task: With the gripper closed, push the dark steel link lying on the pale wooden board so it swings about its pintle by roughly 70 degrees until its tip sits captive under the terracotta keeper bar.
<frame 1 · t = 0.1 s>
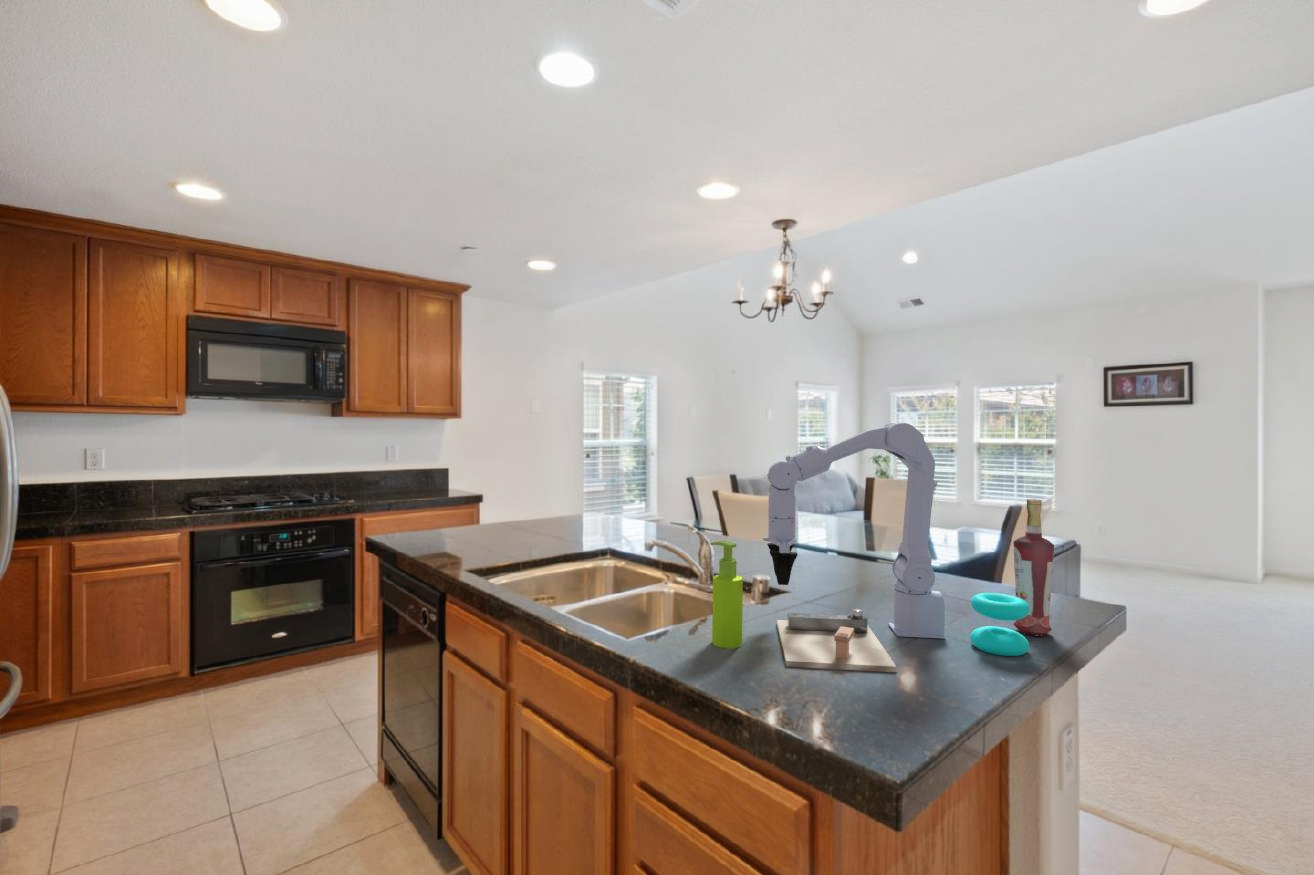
hand: (781, 580, 133), 10 cm above the worktop, fingers open, 7 cm apart
soap dispenser: (725, 643, 123), on the worktop
donuts: (999, 649, 120), on the worktop
link: (827, 618, 128), point 3 cm above the worktop, hinge at 0.0°
liquor: (1032, 633, 130), on the worktop
keeper: (857, 635, 128), resting on hinge board
hinge board: (830, 645, 121), on the worktop
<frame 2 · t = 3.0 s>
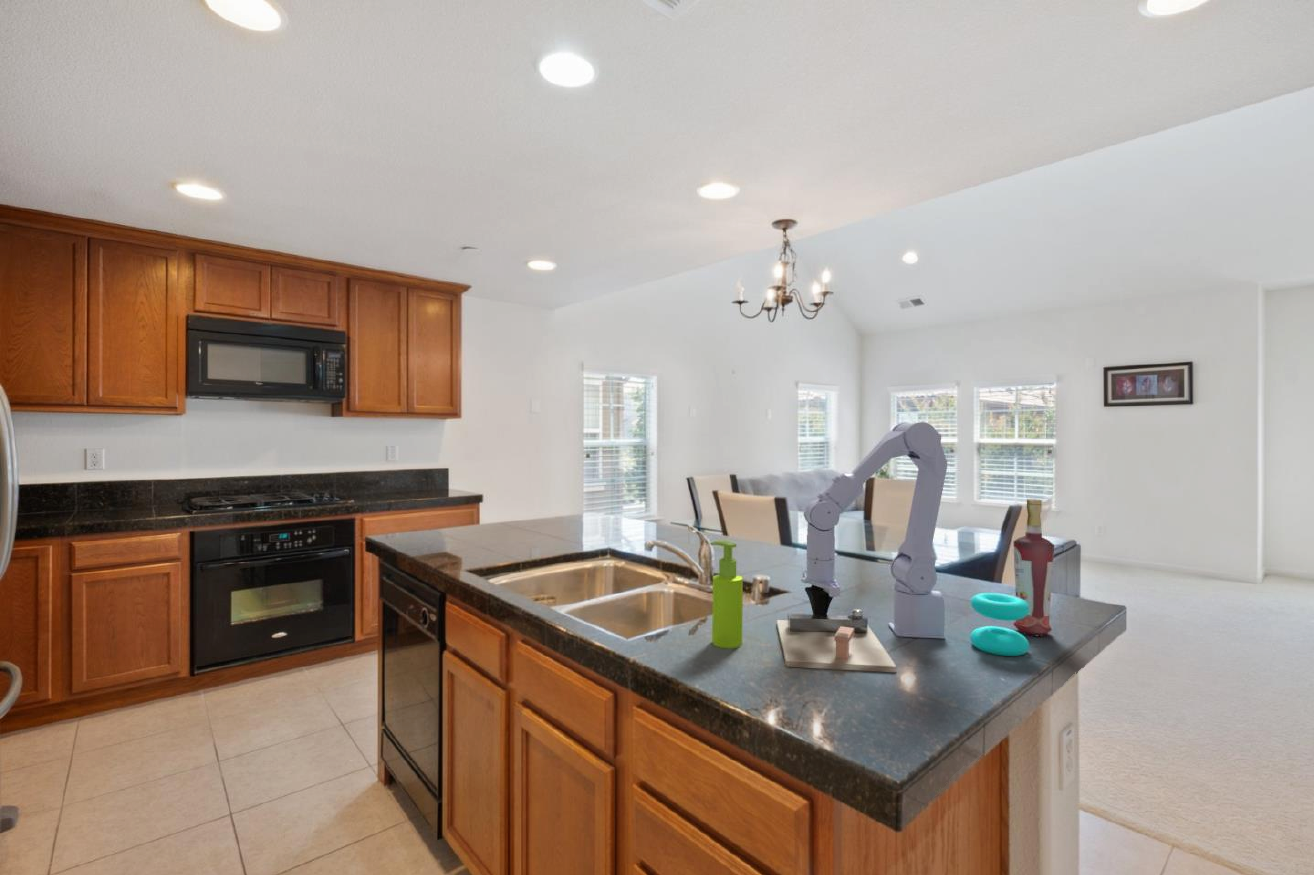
hand: (819, 621, 130), 2 cm above the worktop, fingers closed
link: (827, 619, 128), point 3 cm above the worktop, hinge at 3.8°, touching gripper
everything else where it was.
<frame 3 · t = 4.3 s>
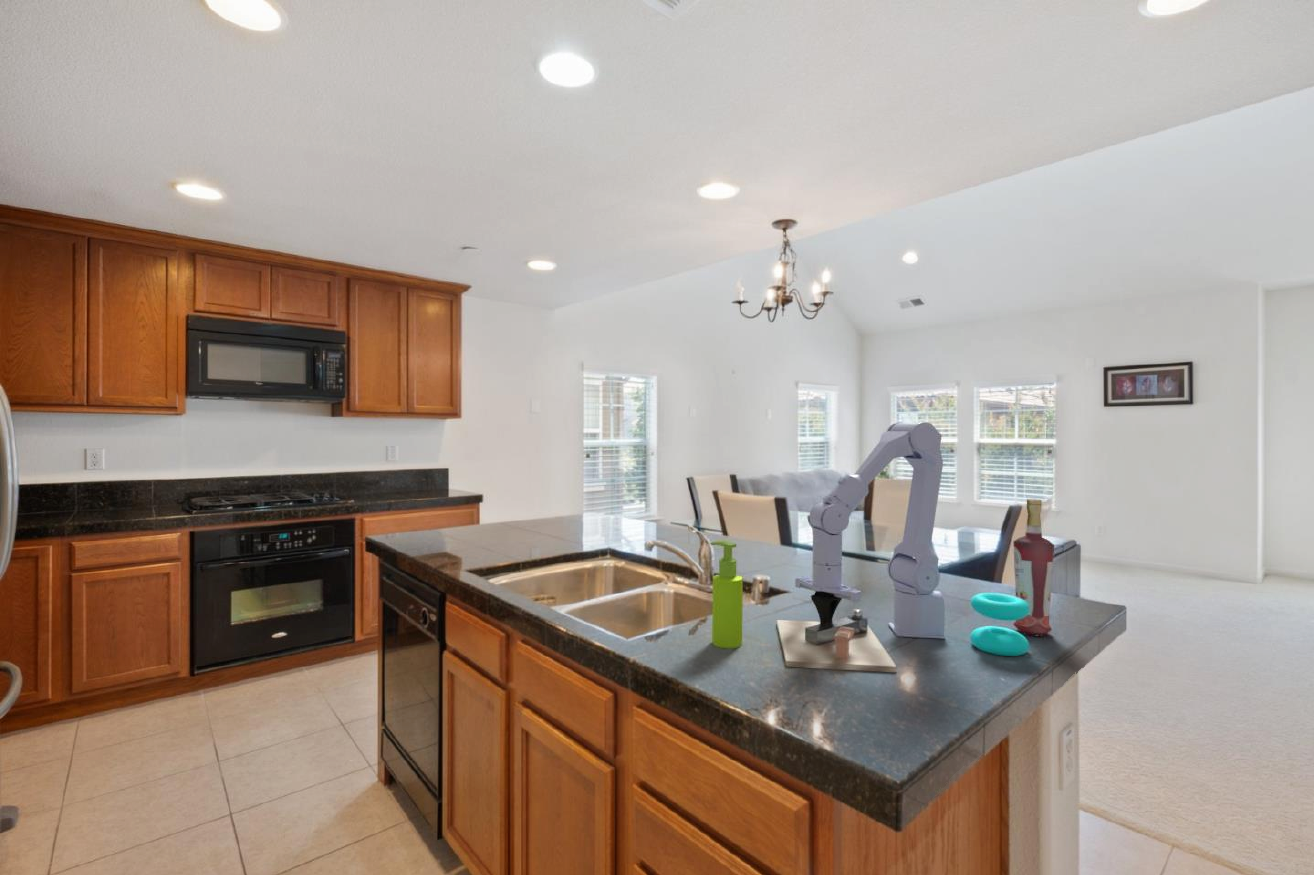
hand: (826, 629, 125), 2 cm above the worktop, fingers closed
link: (838, 625, 124), point 3 cm above the worktop, hinge at 41.6°, touching gripper
everything else where it was.
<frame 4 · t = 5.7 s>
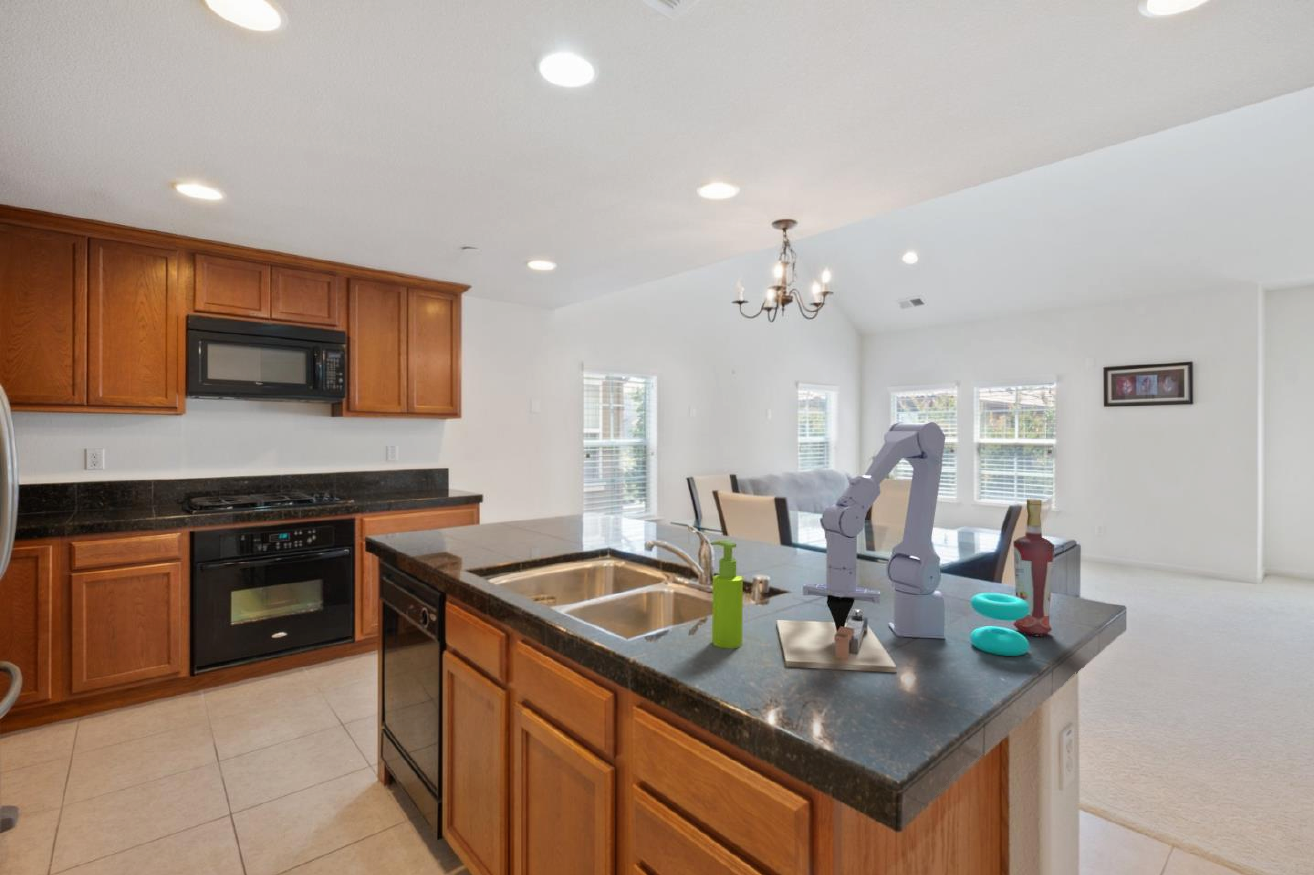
hand: (840, 634, 122), 2 cm above the worktop, fingers closed
link: (854, 628, 122), point 3 cm above the worktop, hinge at 73.3°, touching gripper
everything else where it was.
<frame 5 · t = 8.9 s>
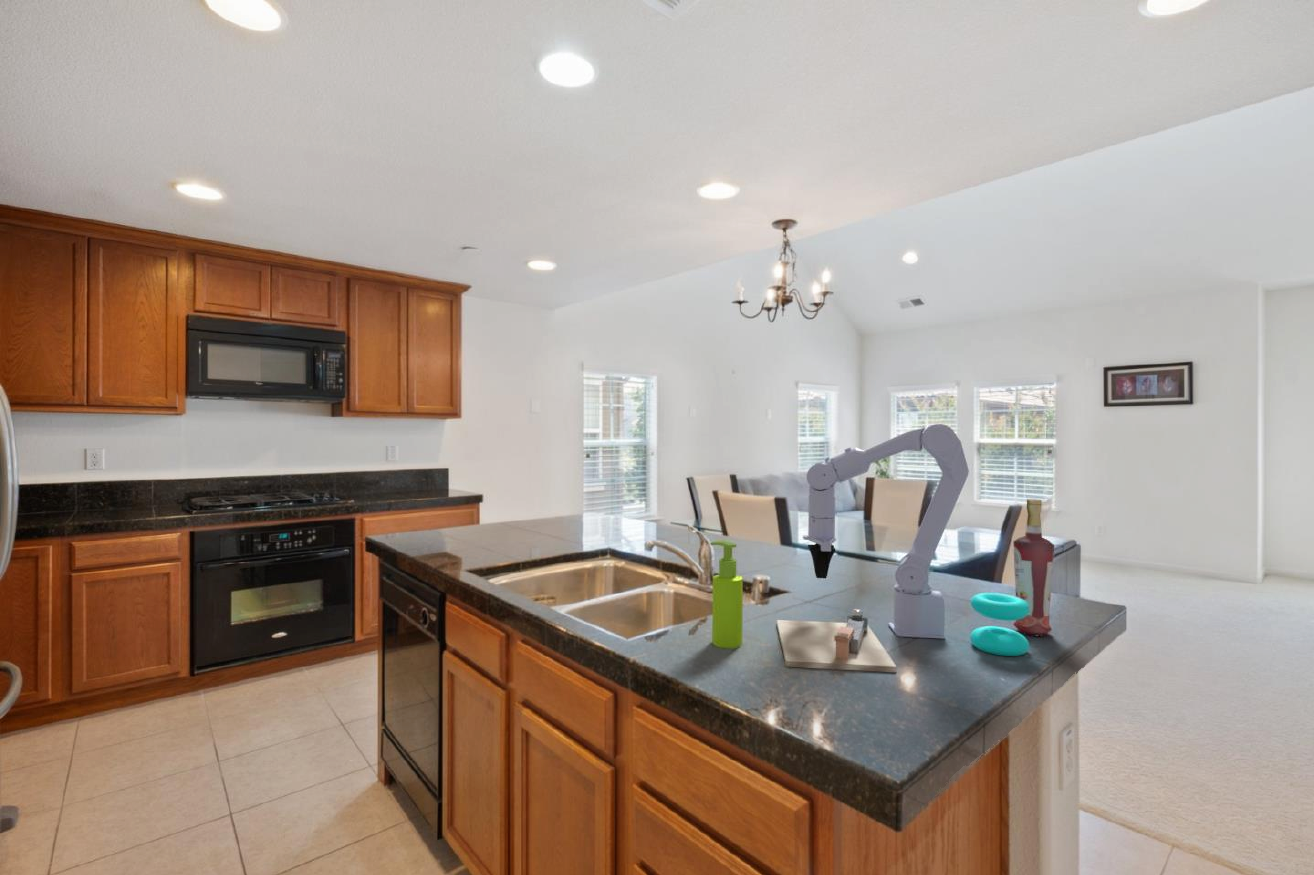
hand: (821, 577, 138), 9 cm above the worktop, fingers closed
link: (854, 628, 122), point 3 cm above the worktop, hinge at 73.4°
everything else where it was.
at the end: link at +73° (first picture: +0°) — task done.
